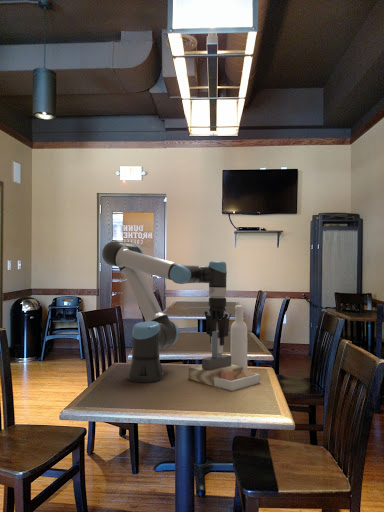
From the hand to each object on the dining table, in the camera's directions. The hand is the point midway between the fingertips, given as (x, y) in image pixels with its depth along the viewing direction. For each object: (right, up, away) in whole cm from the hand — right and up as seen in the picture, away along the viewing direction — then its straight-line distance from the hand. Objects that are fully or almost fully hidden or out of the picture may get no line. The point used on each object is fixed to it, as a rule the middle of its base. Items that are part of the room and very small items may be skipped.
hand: (216, 352), depth 178 cm
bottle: (+11, -12, +14) cm, 22 cm away
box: (+8, -11, -9) cm, 16 cm away
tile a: (+3, -8, -8) cm, 12 cm away
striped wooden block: (0, -11, 0) cm, 11 cm away
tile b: (+11, -7, -6) cm, 14 cm away
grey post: (0, -6, 0) cm, 6 cm away
